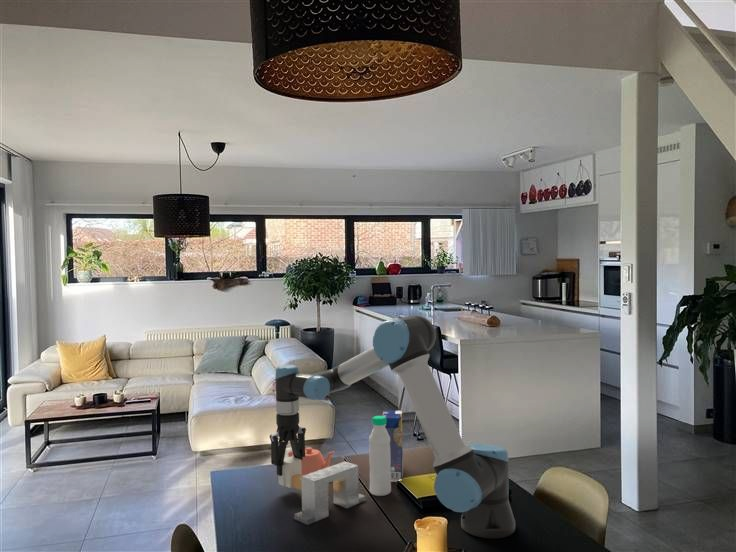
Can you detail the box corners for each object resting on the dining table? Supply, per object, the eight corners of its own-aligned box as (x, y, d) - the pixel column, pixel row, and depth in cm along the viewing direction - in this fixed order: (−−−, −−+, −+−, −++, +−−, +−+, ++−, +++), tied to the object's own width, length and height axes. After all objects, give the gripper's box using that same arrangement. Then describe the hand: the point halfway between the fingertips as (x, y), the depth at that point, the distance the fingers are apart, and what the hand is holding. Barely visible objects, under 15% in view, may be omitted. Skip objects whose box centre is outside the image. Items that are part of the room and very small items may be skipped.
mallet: (331, 494, 188) (331, 469, 188) (319, 499, 184) (319, 473, 184) (291, 479, 202) (290, 456, 202) (279, 483, 198) (278, 459, 198)
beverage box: (403, 470, 217) (402, 410, 217) (402, 482, 206) (401, 418, 206) (384, 470, 218) (383, 410, 217) (382, 481, 207) (381, 418, 206)
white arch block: (365, 500, 191) (364, 463, 191) (307, 525, 174) (306, 484, 173) (352, 495, 195) (351, 458, 195) (294, 519, 178) (293, 479, 178)
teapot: (295, 466, 224) (294, 441, 224) (340, 470, 219) (340, 444, 218) (281, 478, 212) (281, 451, 212) (329, 482, 207) (328, 455, 207)
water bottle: (389, 497, 193) (388, 420, 193) (367, 496, 195) (366, 419, 194) (392, 489, 200) (391, 414, 199) (371, 487, 201) (370, 413, 201)
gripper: (301, 405, 207) (302, 472, 208) (258, 415, 194) (259, 487, 195) (315, 409, 202) (317, 477, 203) (272, 419, 189) (273, 493, 190)
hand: (289, 482), depth 199 cm, fingers closed on mallet, 5 cm apart
